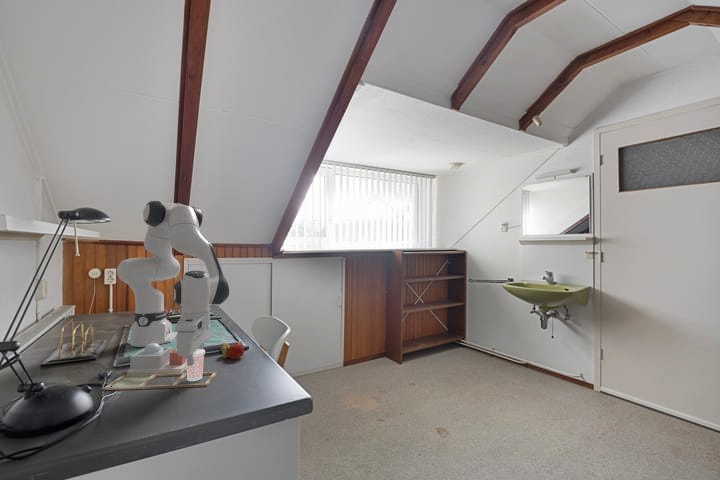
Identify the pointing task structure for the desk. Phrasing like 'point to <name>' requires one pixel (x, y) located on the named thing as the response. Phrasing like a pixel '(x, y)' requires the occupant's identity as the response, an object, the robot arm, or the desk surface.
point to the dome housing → (157, 362)
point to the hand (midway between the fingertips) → (194, 360)
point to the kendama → (232, 350)
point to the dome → (152, 349)
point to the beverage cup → (196, 366)
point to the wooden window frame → (142, 379)
